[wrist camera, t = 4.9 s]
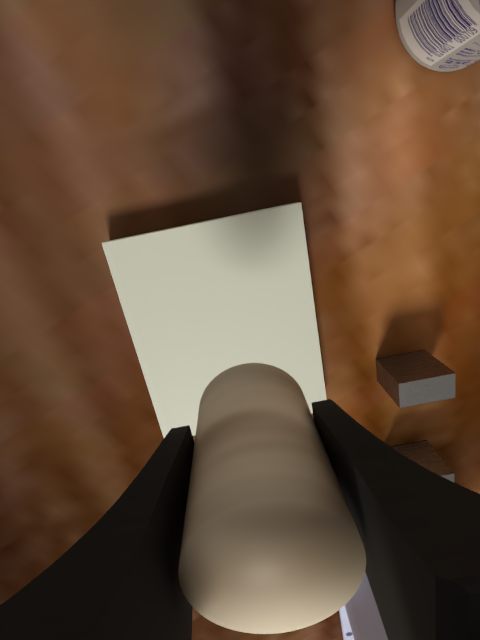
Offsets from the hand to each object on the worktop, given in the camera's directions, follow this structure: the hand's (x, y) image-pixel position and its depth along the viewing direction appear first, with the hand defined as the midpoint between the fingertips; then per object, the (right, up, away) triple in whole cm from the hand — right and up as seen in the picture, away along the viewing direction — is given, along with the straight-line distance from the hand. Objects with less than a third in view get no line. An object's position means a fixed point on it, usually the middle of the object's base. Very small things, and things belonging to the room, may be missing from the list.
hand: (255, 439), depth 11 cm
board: (-1, +3, +9) cm, 10 cm away
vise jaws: (+10, -2, +11) cm, 15 cm away
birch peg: (0, 0, +2) cm, 2 cm away
